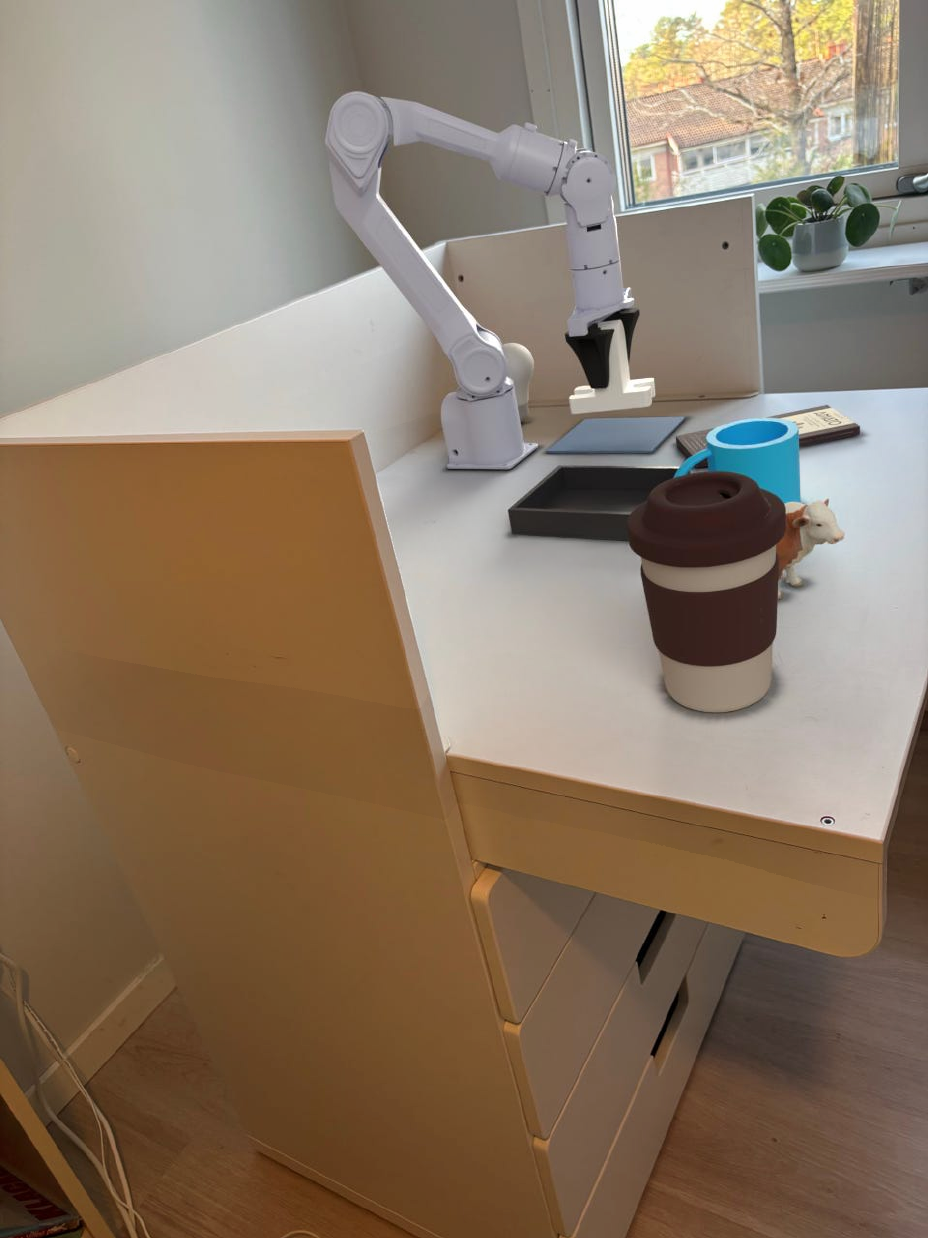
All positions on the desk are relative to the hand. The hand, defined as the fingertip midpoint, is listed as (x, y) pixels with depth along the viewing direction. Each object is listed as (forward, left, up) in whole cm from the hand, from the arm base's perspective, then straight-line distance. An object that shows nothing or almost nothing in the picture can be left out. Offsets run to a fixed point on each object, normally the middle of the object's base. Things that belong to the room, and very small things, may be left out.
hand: (609, 379), depth 114 cm
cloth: (0, 0, -7) cm, 7 cm away
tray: (+8, -23, -7) cm, 25 cm away
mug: (+22, -23, -7) cm, 33 cm away
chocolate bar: (+19, -2, -7) cm, 20 cm away
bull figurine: (+28, -37, -7) cm, 47 cm away
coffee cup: (+29, -51, -7) cm, 59 cm away
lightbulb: (-17, +6, -7) cm, 19 cm away
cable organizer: (0, 0, -3) cm, 3 cm away
